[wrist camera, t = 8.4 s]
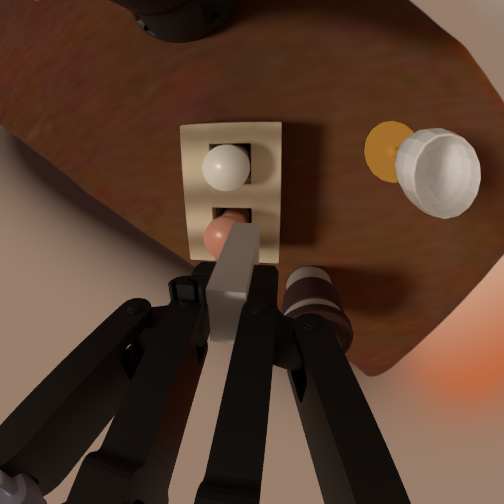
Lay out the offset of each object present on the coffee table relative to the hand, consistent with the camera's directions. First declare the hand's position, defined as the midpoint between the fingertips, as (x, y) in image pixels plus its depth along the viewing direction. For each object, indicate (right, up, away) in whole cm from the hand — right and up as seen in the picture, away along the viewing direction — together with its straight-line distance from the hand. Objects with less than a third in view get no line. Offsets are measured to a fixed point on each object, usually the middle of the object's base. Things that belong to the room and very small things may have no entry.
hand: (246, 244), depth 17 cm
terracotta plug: (-2, +5, +24) cm, 24 cm away
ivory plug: (-2, +12, +21) cm, 25 cm away
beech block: (-2, +9, +24) cm, 26 cm away
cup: (+20, +14, +19) cm, 31 cm away
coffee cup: (+10, -6, +30) cm, 32 cm away
